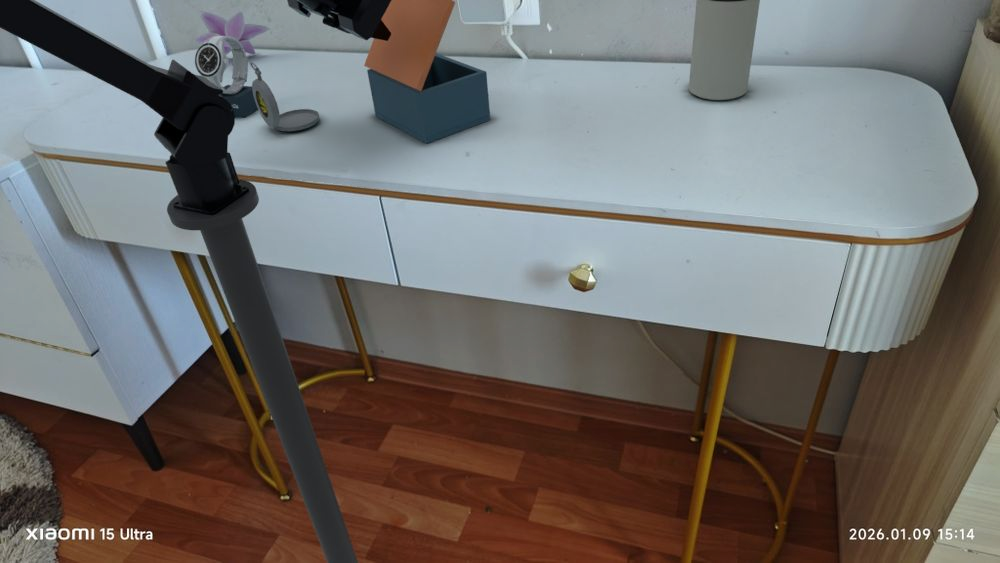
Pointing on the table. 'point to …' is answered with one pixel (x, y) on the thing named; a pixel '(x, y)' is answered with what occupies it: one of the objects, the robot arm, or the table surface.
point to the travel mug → (722, 48)
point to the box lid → (410, 40)
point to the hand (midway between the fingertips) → (388, 37)
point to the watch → (214, 64)
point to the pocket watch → (271, 113)
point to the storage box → (433, 100)
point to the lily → (230, 30)
